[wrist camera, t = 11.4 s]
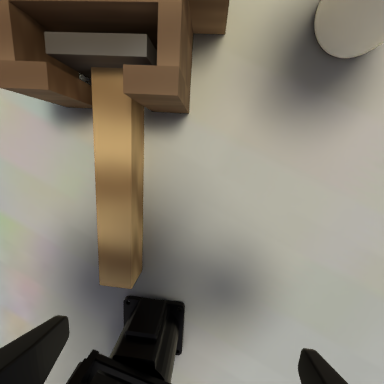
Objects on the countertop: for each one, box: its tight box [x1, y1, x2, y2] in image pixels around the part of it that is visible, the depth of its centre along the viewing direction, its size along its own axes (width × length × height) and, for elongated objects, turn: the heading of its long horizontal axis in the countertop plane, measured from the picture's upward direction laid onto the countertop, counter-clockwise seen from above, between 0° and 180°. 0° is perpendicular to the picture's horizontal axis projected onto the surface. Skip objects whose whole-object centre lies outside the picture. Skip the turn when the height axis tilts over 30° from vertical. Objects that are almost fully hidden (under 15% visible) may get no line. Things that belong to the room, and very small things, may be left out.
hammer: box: [44, 32, 157, 289], centre depth 17 cm, size 19×6×5 cm, turn 176°
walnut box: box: [0, 0, 229, 113], centre depth 12 cm, size 8×16×9 cm, turn 86°
